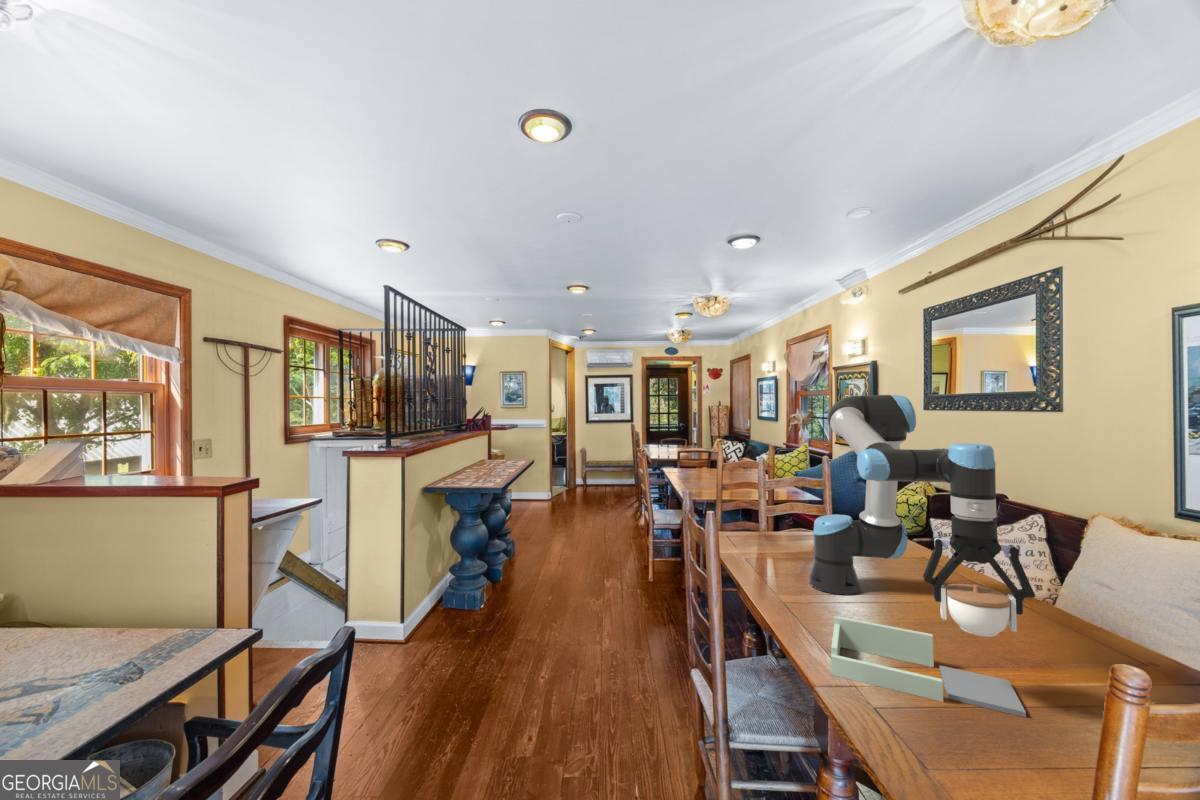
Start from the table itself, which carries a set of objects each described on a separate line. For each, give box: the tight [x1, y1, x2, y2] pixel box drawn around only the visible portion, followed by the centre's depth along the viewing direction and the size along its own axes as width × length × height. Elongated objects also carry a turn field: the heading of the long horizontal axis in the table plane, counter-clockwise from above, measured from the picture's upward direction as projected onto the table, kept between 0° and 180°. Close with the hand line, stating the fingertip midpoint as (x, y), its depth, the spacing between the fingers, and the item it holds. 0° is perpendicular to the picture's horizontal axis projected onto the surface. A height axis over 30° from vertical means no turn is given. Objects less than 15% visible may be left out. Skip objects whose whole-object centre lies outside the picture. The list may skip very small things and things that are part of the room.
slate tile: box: [938, 665, 1027, 718], centre depth 96 cm, size 12×12×1 cm
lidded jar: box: [944, 583, 1011, 638], centre depth 96 cm, size 11×11×9 cm
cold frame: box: [830, 615, 944, 703], centre depth 104 cm, size 16×20×7 cm
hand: (977, 623), depth 96 cm, fingers closed on lidded jar, 11 cm apart
